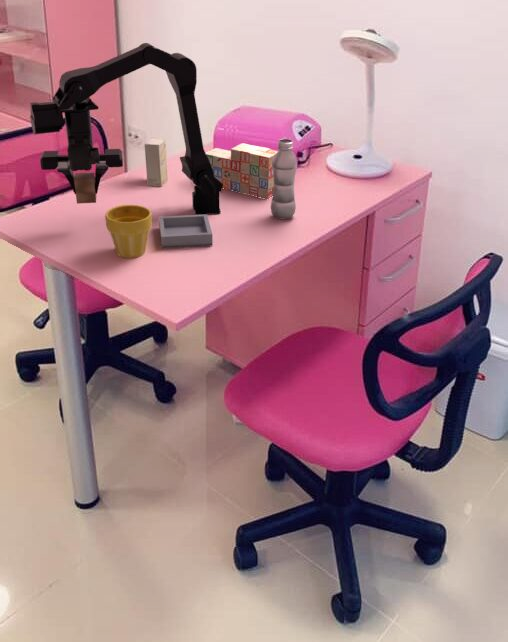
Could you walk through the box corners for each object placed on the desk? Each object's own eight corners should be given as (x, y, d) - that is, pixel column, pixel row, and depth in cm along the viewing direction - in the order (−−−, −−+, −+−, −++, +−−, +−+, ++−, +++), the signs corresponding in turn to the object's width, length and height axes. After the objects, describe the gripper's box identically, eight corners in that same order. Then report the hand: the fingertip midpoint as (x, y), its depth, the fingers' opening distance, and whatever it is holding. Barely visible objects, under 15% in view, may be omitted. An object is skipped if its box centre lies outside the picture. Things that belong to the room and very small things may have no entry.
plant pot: (157, 259, 166) (154, 219, 161) (111, 264, 163) (107, 224, 158) (149, 240, 174) (147, 202, 169) (106, 245, 172) (102, 206, 166)
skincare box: (161, 187, 205) (159, 145, 198) (146, 186, 205) (143, 144, 199) (168, 179, 210) (166, 138, 204) (153, 178, 211) (151, 137, 204)
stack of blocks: (204, 184, 207) (203, 142, 201) (216, 178, 212) (215, 137, 205) (267, 200, 198) (269, 156, 191) (279, 193, 202) (280, 150, 196)
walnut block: (96, 195, 178) (94, 172, 175) (96, 202, 174) (93, 178, 171) (77, 196, 177) (75, 173, 174) (76, 203, 174) (74, 179, 171)
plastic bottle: (299, 214, 189) (302, 139, 179) (289, 223, 184) (292, 146, 174) (276, 210, 192) (279, 135, 181) (266, 219, 186) (268, 142, 176)
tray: (207, 225, 182) (207, 214, 181) (212, 245, 172) (212, 234, 171) (159, 227, 181) (158, 216, 179) (161, 248, 170) (161, 236, 169)
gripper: (34, 141, 159) (43, 208, 167) (120, 138, 162) (125, 204, 170) (38, 126, 168) (47, 190, 176) (120, 124, 171) (125, 187, 179)
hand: (86, 193), depth 175 cm, fingers closed on walnut block, 4 cm apart
